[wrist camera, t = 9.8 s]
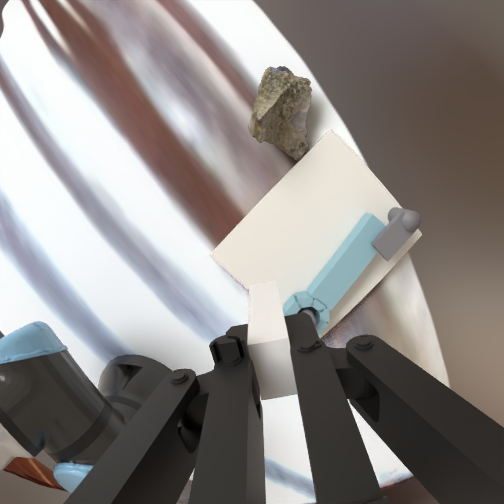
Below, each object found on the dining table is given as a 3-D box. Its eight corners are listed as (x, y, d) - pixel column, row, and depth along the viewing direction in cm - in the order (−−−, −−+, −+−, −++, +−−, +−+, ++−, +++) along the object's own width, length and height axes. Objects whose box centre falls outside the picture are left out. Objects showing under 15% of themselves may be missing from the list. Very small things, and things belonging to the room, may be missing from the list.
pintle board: (311, 341, 42) (318, 363, 36) (210, 253, 39) (203, 265, 34) (418, 232, 39) (440, 241, 33) (329, 130, 36) (341, 122, 30)
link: (307, 336, 40) (309, 345, 38) (274, 315, 40) (276, 323, 37) (389, 233, 37) (397, 236, 35) (359, 206, 36) (366, 208, 34)
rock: (309, 164, 36) (253, 143, 28) (272, 157, 40) (215, 140, 32) (327, 82, 33) (278, 45, 26) (290, 82, 37) (238, 52, 30)
